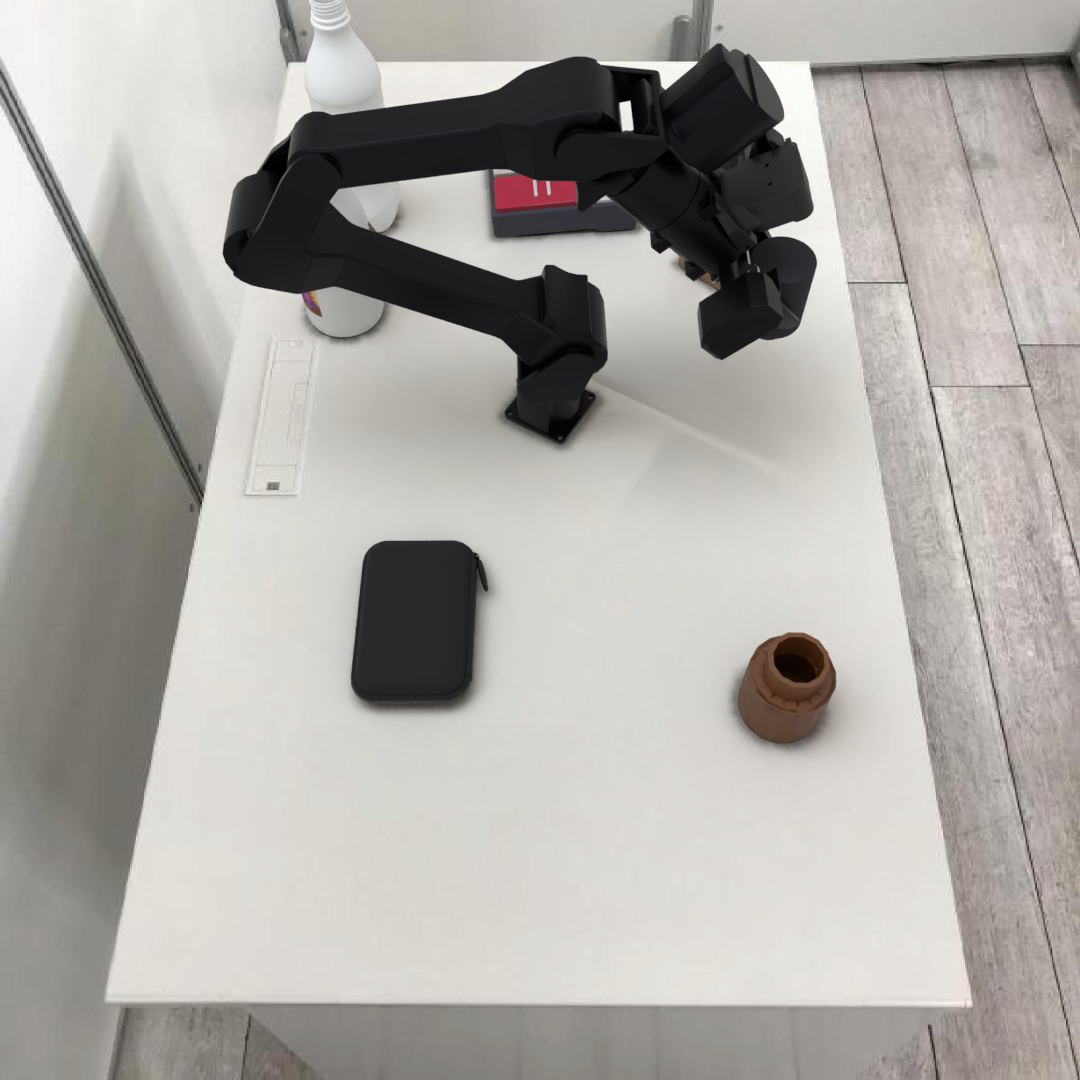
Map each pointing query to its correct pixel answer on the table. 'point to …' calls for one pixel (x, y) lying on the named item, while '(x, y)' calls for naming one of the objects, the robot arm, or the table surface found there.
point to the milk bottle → (339, 306)
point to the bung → (787, 273)
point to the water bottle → (347, 91)
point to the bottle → (786, 687)
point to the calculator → (546, 207)
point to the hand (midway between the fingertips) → (790, 300)
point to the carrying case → (416, 622)
